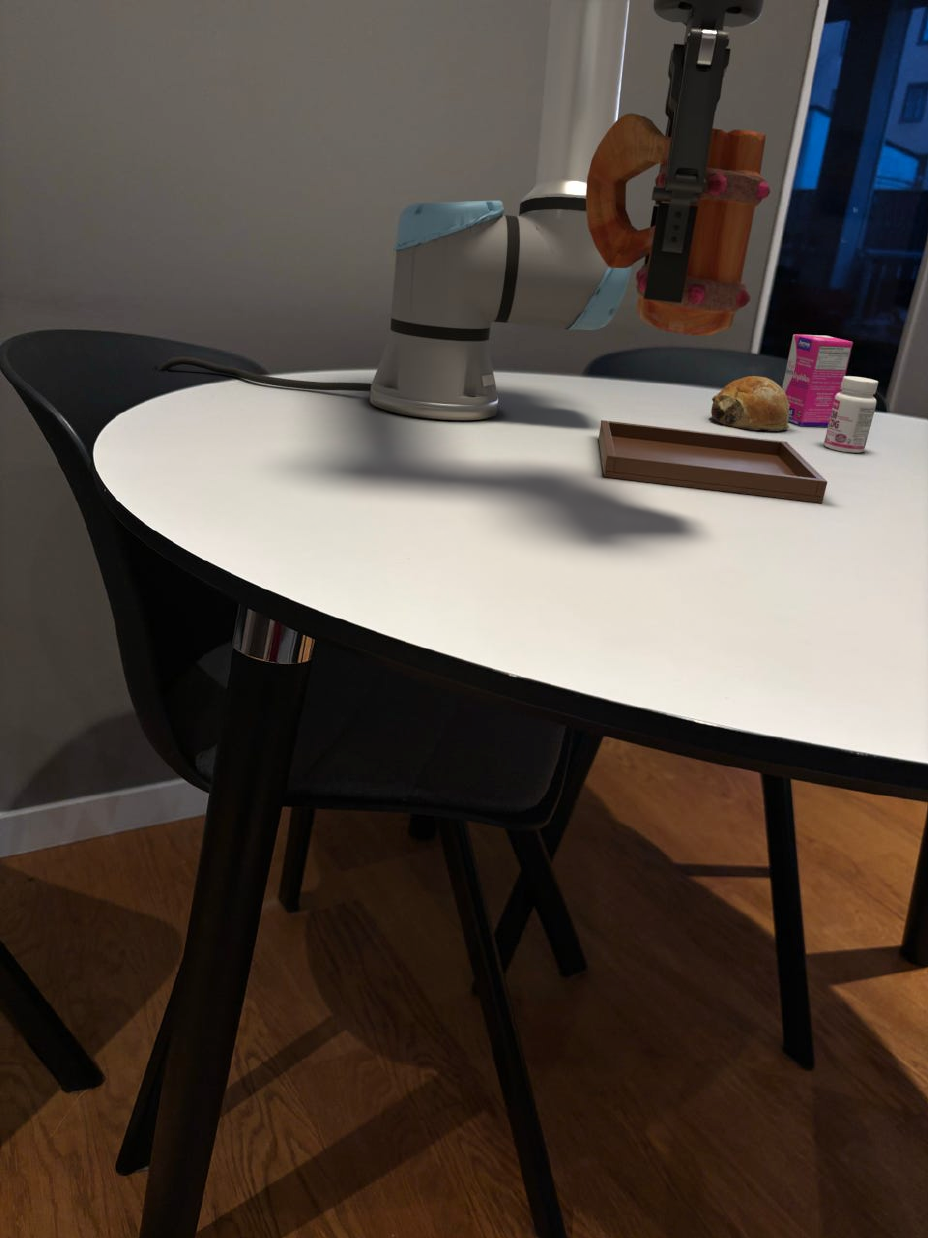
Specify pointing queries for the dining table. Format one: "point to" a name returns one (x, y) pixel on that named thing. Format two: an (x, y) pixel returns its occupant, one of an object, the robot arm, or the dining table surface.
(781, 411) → the bread roll
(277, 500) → the dining table surface
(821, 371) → the supplement box
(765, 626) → the dining table surface
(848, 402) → the pill bottle
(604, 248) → the mug
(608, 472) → the tray
